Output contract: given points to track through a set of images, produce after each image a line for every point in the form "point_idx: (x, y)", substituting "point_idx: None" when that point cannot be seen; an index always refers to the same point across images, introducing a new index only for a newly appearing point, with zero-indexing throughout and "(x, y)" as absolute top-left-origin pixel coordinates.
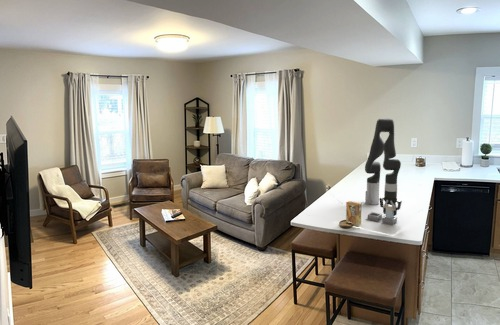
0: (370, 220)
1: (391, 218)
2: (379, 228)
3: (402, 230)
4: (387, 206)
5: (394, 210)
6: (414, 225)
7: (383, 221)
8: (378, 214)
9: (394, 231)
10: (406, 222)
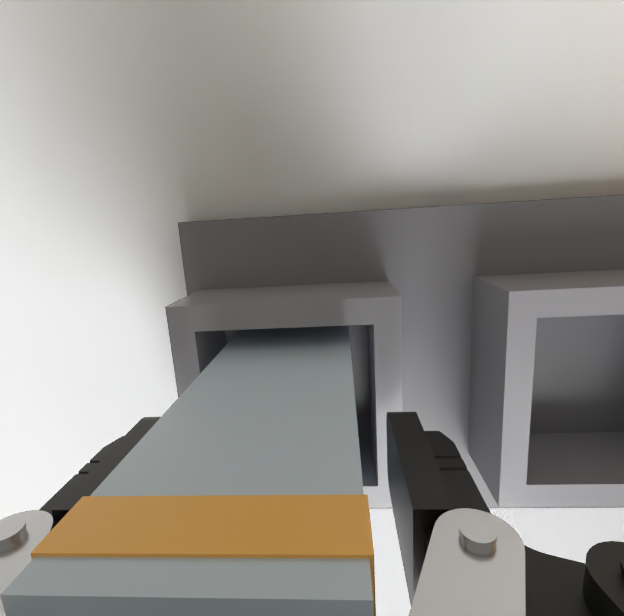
0: (603, 225)
1: (219, 354)
2: (316, 4)
3: (10, 188)
4: (272, 580)
5: None
6: (15, 485)
7: (365, 285)
8: (561, 475)
9: (65, 50)
10: None
